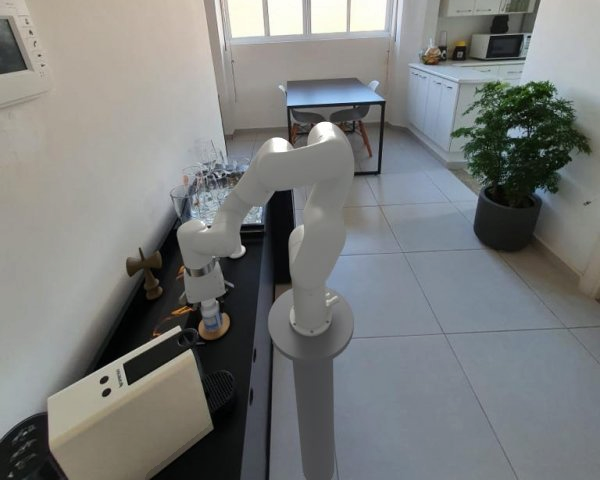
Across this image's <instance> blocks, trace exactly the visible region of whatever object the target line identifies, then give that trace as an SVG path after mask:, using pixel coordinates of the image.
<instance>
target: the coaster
mask: <svg viewBox="0 0 600 480" xmlns="http://www.w3.org/2000/svg"><path fill="white" fill-rule="evenodd" d="M222 317H223V325H222V327H221V328H220V329H219V330H217V331H214V332H209V331H207V330H206V329H205V326H204V322H203V319H201V320H200V322H199V324H198V334H199V336H200V337H201V338H202V339H204V340H207V341H213V340H217V339H219V338H221V337H222V336H224V335H225V334H226V333H227V331H228V330H229V329H230V325H231V321H230V317H229V315H228V314H227V313H226V312H224V313H223V314H222Z"/></svg>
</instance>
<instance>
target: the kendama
mask: <svg viewBox="0 0 600 480" xmlns="http://www.w3.org/2000/svg"><path fill="white" fill-rule="evenodd" d="M138 253H139V257H140V258H135V257H132V256H128V257H127V258H126V260H125V269H126V274H127V276H128V277H129V278H132V277H134V276H135V275H136V274H137V273H138V272H139V271H141V270H143V271H144V279H145V283H144V285H143V289H144V290H146V294H145V298H146V300H150V301H152V300H156V299H158V298H159V297H161V296H162V294H163V288H162V287H161V286H159V284H160V280H159V279H158V278H155V277H154V275H153V273H152V271H151V269H152V268H153V269H157V270H161V268H162V266H163V260H162V255H161V252H160V251H159V250H156V251H155V252H154V253H152V254H150V256H148V257H145V255H144V252H143V250H142V247H140V246H139V247H138ZM150 268H151V269H150Z"/></svg>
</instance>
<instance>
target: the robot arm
mask: <svg viewBox="0 0 600 480" xmlns="http://www.w3.org/2000/svg"><path fill="white" fill-rule="evenodd" d="M355 166H356V165H355V156H354V151H353V148H352V146H351V143H350V140H349V139H348V137H347V135H346V134H345V132H344V131H343V130H342V129H341V128H340V127H339V126H337V125H336V124H334V123H332V122H329V121H322V122H319V123H316V124H315V125H314V126H313V127H312V128H311V130H310V132H309V133H308V136H307V145H306V146H305V145H304V146H302V147H297V148H294V146H293V145H292V144H291V143H290V141H288V140H286V139H285V138H282V137H272V138H269V139H268V140H266V141H264V143H263V144H262V145H261V147H260V148H259V149H258V151H257V152H256V154H255V156H254V157H253V159H252V161H251V162H250V163H249V164H248V166H247V168H246V169H245V171H244V173H243V174H242V175H241V178H240V179H239V180H238V181H237V183H236V185H234V186H233V189H232V190H230V191H229V193H228V194H227V196H226V197H225V199H224V201H223V202H222V203H221V205H220V207H219V208H218V209H217V211H216V213H215V215H214V217H213V220H212V222H211V226H210V227H208V225H207V223H205V221H203V220H200V219H193V220H187V221H186V222H184V223H183V224H181V225H180V226H179V227H178V229H177V231H176V238H177V242H178V247H179V251H180V254H181V257H182V262H183V265H184V268H183V283H184V290H183V293H182V294H181V295H180V297H179V298H178V304H179V305H183V306H185V307H187V308H190V309H192V311H193V312H194V314H195V317H198V320H199V321H202V315H201V302H202V301H205V300H209V299H213V298H215V299H216V298H217V301H218V302H219V307H220V311H221V313H222V314H223V313H225V312H224V309H226V302H225V301H226V299H227V298H228V297H229V296H230V294H231V293H232V292H233V291H234V290H235V284H234V283H232V282H229V281H228V280H226V279H225V278H224V275H223V272H222V267H221V265H220V263H219V262H220V261H221V258H227V257H229V256H230V255H232V254H233V253H234V252H235V250H236V248H237V243H238V238H239V234H241V233H240V232H241V227H242V224H243V222H244V221H245V219H246V218H247V216H248V214H249V213H250V212H251V211H252V209H253V208H260V207H261V208H262V207H265V206H266V205H267V204H268V202H269V201H270V199H271V198H272V197H273V195H274V193H276V192H282V191H290V190H294V189H299V188H302V187H306V186H310V185H313V187H312V189H311V191H310V194H309V196H308V199H307V200H306V203H305V205H304V208H303V211H302V221H303V222H302V224H300V225H297V226H296V227H295V228H294V229H293V230H292V232H291V233H290V234H289V238H288V259H289V260H288V263H289V265H288V267H289V274H290V278H291V288H292V291H293V303H294V306H293V307H292V308H291V311H290V315H289V318H290V324H291V326H292V328H293V329H294V330H295V331H296V332H297V333H299V334H301V335H303V336H310V337H312V336H317V335H320V334H322V333H324V332H325V331H326V330H327V329H328V328H329V326H330V324H331V321H332V313H331V310H330V308H332V306H333V305H335V304H337V303H338V302H339V298H338V297H337V296H335V297H333V298H332V299H331V300H327V299H329V298H331V296H330V294H329V293H328V294H326V287H327V281H328V279H329V278H330V276H331V274H332V272H333V270H334V268H335V267H336V264H337V262H338V261H339V259H340V256H341V254H342V253H343V249H344V247H345V245H346V241H347V229H346V224H345V221H344V217H343V210H344V209H343V208H344V206H345V203H346V201H347V199H348V195H349V193H350V190H351V187H352V184H353V181H354V177H355V169H356V167H355Z"/></svg>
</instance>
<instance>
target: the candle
mask: <svg viewBox="0 0 600 480" xmlns="http://www.w3.org/2000/svg"><path fill="white" fill-rule="evenodd" d="M245 253H246V247H245V246H244V245H242V240H241V233H239V238H238V243H237V248H236V250H235V252H234V253H233V254H232V255H230V256H228V257H229V258H231V259H239V258H241V257H242V256H244V255H245Z"/></svg>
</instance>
